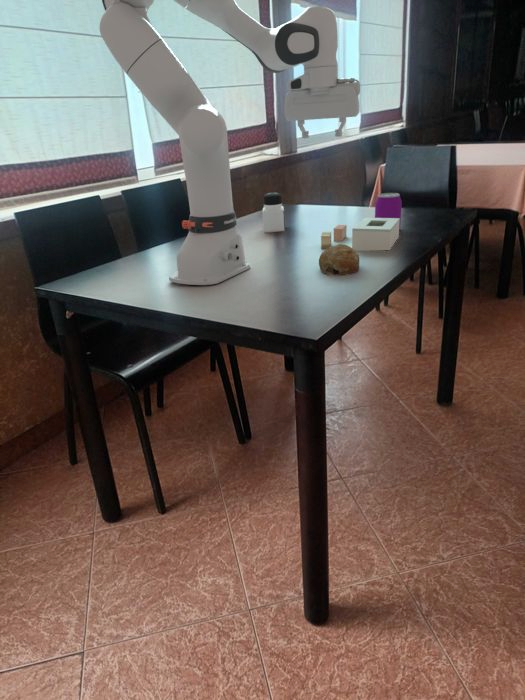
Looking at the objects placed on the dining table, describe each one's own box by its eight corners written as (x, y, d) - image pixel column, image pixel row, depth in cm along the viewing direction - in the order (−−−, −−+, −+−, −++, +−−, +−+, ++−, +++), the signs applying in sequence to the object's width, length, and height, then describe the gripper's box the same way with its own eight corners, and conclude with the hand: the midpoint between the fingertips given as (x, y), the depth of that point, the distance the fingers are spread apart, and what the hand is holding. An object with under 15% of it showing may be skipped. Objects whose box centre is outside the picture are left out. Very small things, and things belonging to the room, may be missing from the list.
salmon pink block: (341, 244, 145) (341, 228, 143) (333, 243, 146) (333, 228, 144) (346, 239, 149) (346, 225, 147) (338, 239, 150) (338, 224, 148)
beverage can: (399, 231, 154) (401, 191, 149) (400, 237, 147) (403, 196, 142) (373, 232, 155) (375, 193, 150) (374, 238, 149) (375, 197, 143)
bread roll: (317, 286, 121) (312, 264, 115) (325, 256, 127) (321, 233, 120) (357, 289, 118) (354, 265, 112) (364, 257, 123) (361, 234, 117)
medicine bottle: (284, 231, 165) (283, 194, 160) (263, 232, 165) (261, 195, 160) (284, 226, 171) (282, 191, 166) (264, 228, 172) (261, 192, 166)
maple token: (330, 251, 139) (330, 235, 137) (321, 251, 139) (321, 235, 137) (331, 247, 143) (331, 231, 141) (322, 247, 144) (322, 231, 142)
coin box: (389, 255, 131) (390, 229, 128) (352, 254, 135) (352, 228, 131) (398, 242, 142) (399, 218, 139) (364, 241, 146) (364, 217, 143)
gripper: (362, 77, 129) (361, 134, 135) (288, 84, 136) (290, 138, 142) (357, 76, 124) (357, 136, 130) (281, 83, 131) (283, 140, 137)
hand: (321, 137), depth 136 cm, fingers open, 8 cm apart
